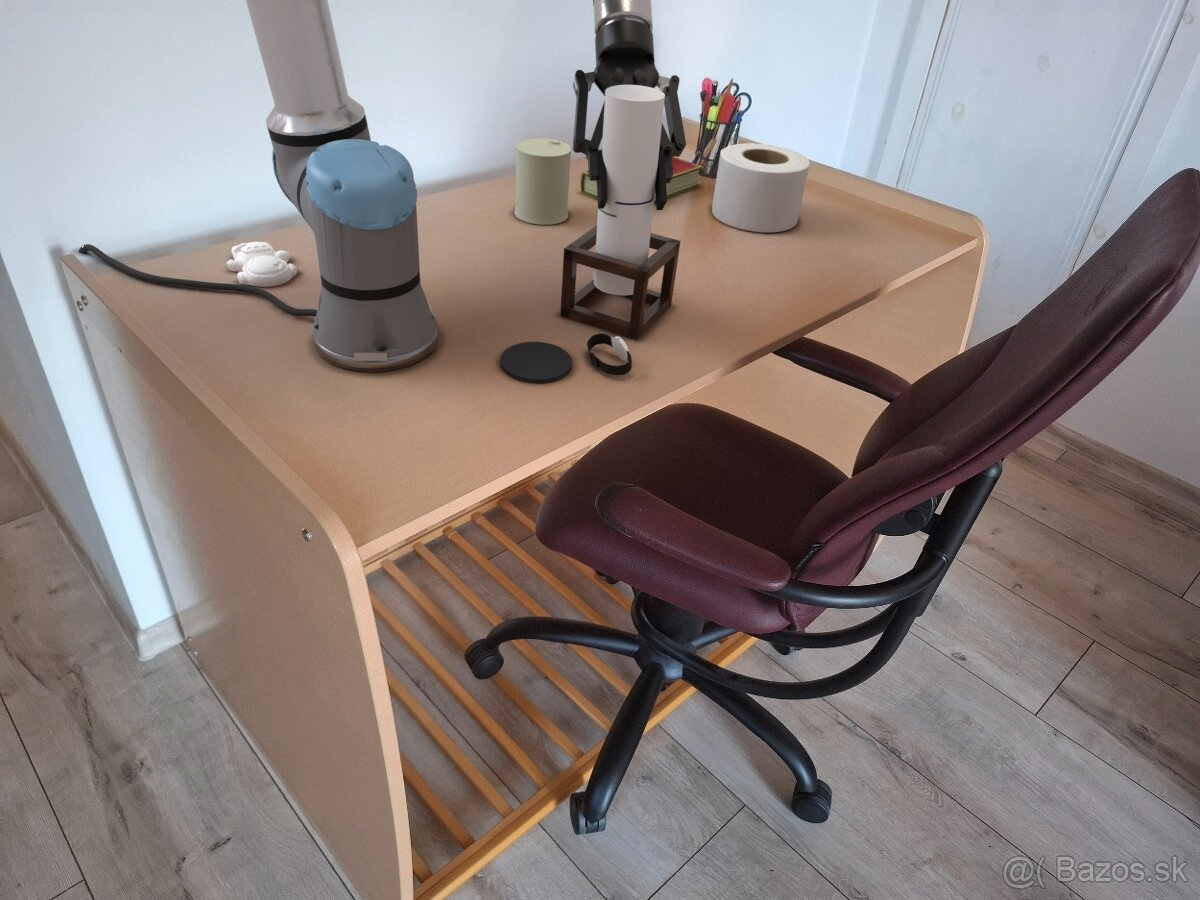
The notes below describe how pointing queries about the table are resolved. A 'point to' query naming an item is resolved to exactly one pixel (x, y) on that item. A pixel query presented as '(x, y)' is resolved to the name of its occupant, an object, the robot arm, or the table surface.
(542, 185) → the can
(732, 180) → the white paper roll
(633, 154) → the cylindrical container
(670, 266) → the rack
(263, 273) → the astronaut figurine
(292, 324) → the table surface
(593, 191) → the hardcover book
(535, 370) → the coaster
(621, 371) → the watch
